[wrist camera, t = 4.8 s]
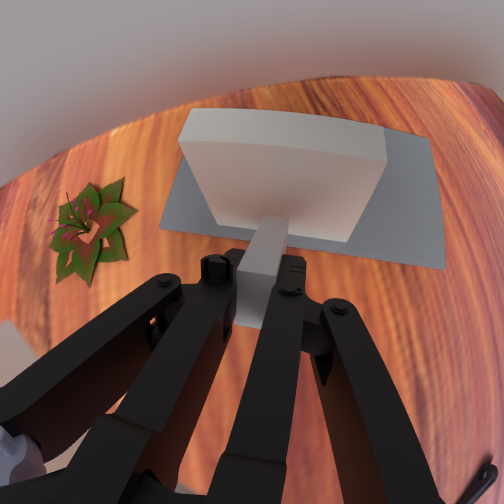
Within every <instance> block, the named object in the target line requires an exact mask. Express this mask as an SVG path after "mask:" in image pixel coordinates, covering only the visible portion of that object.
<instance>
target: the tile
mask: <svg viewBox="0 0 504 504" xmlns="http://www.w3.org/2000/svg"><path fill="white" fill-rule="evenodd" d="M177 141H178V143H179V145H180V147H181V150H182V152H183V154H184V156H185V158H186V160H187V162H188V164H189V166H190V168H191V171H192V173H193V175H194V177H195V179H196V181H197V183H198V185H199V187H200V189H201V191H202V193H203V196H204V198H205V200H206V202H207V204H208V206H209V208H210V210H211V212H212V214H213V216H214V218H215V220H216V222H217V224H218V225H223V226H231V227H239V228H247V229H254V230H257V228H258V226H259V224H260V222H261V220H262V218H263V216H271V217H279V218H287V219H289V227H288V234H291V235H298V236H305V237H312V238H319V239H326V240H332V241H339V242H347V240H348V239H349V237H350V235H351V233H352V231H353V230H354V228H355V226H356V224H357V222H358V220H359V218H360V217H361V215H362V213H363V211H364V209H365V207H366V205H367V203H368V201H369V199H370V197H371V195H372V193H373V191H374V189H375V187H376V185H377V183H378V181H379V179H380V177H381V175H382V173H383V171H384V169H385V167H386V165H387V153H386V144H385V136H384V128H383V127H382V126H378V125H373V124H368V123H363V122H358V121H352V120H347V119H341V118H334V117H327V116H320V115H313V114H304V113H295V112H285V111H273V110H257V109H232V108H193V109H192V110H191V112H190V114H189V116H188V118H187V120H186V122H185V125H184V127H183V129H182V131H181V134H180V136H179V138H178V140H177Z"/></svg>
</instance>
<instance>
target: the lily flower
mask: <svg viewBox="0 0 504 504" xmlns="http://www.w3.org/2000/svg"><path fill="white" fill-rule="evenodd" d="M123 180H124V178H122V179H121V180H118V181H116V182H114V184H110V185H108V186H106V187H104V188H103V189H102V190H101V191H100V192H99V193H98V194H97V192H96V190H95V189H94V188H93V187H92V186H90V183H88V185H87V186H86V187H85V188H84V189H83V192H81V193H80V194H79V195H78V196H77V197H76V199H75V198H74V199H73V202H69V203H67V204H65V205H64V206H63V207H62V206H59V207H58V208H59V214H60V215H59V220H48V221H59V224H60V225H59V227H58V228H57V229H56V230H55V231H53V232H52V233H51V234H52V235H53V233H55V234H54V236H53V238H52V243H50V245H49V246H48V247H50V248H51V249H53V250H54V251H56V252H59V253H60V254H59V256H58V260H57V268H56V274H57V277H58V278H57V279H56V284H57V283H58V282H59V281H61V280H62V279H63V278H65V277H67V276H68V275H70V274H71V273H73V272H74V271H76V273H77V274H78V275H79V276H80V277H81V278H82V279H83V280H85V281H86V282H87V285H88V286H89V288H90V284H91V279H92V272H93V270H94V266H95V262H96V261H99V262H115V261H119V260H121V259H122V260H124V261H128V259H127V257H126V253H125V249H123V246H124V245H123V241H122V238H121V235H120V233H119V231H118V229H117V228H118V227H119V226H120V225H121V224H123V223H124V222H125V221H126V220H127V219H129V218H130V216H131V215H132V214H135V213H136V212H138V210H134V209H132V208H129V207H125V205H123V204H120V203H118V202H119V198H120V193H121V189H122V182H123ZM66 193H67V192H66ZM67 198H68V193H67ZM68 201H69V199H68ZM107 202H108V203H107ZM106 203H107V204H106ZM104 204H105V205H104ZM102 205H104V206H103V207H102V208H101V209H100V210H99V207H101V206H102ZM69 215H72V216H73V217H74V219H75V220H71V218H70V216H69ZM89 218H90V219H92V220H93V221H95V222H96V223H97V224H98V225H99V226H100V227H99V228H98V230H97V232H96V234H95V235H94V237H93V239H92V240H91V241H90V243H89V244H87V243H85V242H84V241H82V240H81V239H80V238H79V237H78V236H77V235H79V234H84V233H88V230H91V229H90V227H89ZM85 222H87V226H88V227H87V226H86V225H85V224H84V223H85ZM80 230H83V231H85V232H80V233H79V231H80ZM104 237H107V240H108V243H109V246H110V247H103V248H100V240H99V239H102V238H104ZM73 249H74V251H73V254H72V262H71V263H70V264H69V265H68V266H67V267H66V265H67V262H68V260H69V253H70V251H71V250H73ZM65 267H66V268H65Z"/></svg>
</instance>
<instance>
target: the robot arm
mask: <svg viewBox="0 0 504 504" xmlns="http://www.w3.org/2000/svg"><path fill="white" fill-rule="evenodd" d="M288 227H289V219H287V218H279V217H271V216H263V218H262V220H261V222H260V224H259V226H258V228H257V230H256V232H255V234H254V236H253V238H252V240H251V242H250V244H249V246H248V248H247V250H243V249H235V248H232V249H230V250H228V251H227V252H225V254H224V255H219V254H214V255H208V256H205V257H203V258H202V259H201V279H200V280H199V282H198V283H196V284H181V279H180V278H179V276H177V275H175V274H170V273H163V274H159V275H156V276H154V277H152V278H151V279H149V280H148V281H146V282H145V283H144V284H142V285H141V286H139V287H138V288H136V289H135V290H133V291H132V292H131V293H129V294H128V295H126V296H125V297H123V298H122V299H120V300H119V301H118V302H116V303H115V304H113V305H112V306H111V307H109V308H108V309H106V310H105V311H103V312H102V313H101V314H99V315H98V316H96V317H95V318H94V319H92V320H91V321H90V322H88V323H87V324H85V325H84V326H83V327H81V328H80V329H79V330H77V331H76V332H74V333H73V334H72V335H70V336H69V337H68V338H66V339H65V340H64V341H62V342H61V343H60V344H58V345H57V346H56V347H54V348H53V349H52V350H50V351H49V352H48V353H46V354H45V355H44V356H42V357H41V358H40V359H38V360H37V361H36V362H34V363H33V364H32V365H31V366H29V367H28V368H27V369H25V370H24V371H23V372H22V373H20V374H19V375H18V376H16V377H15V378H14V379H13V380H12V381H10V382H9V383H8V384H6V385H5V386H3V387H1V388H0V504H281V499H282V494H283V488H284V483H285V477H286V469H287V465H286V457H287V450H288V444H289V438H290V431H291V425H292V418H293V410H294V403H295V395H296V387H297V379H298V371H299V362H300V352H301V351H304V352H306V353H309V354H310V360H311V364H312V368H313V372H314V376H315V380H316V384H317V388H318V392H319V396H320V400H321V404H322V408H323V412H324V416H325V420H326V425H327V429H328V433H329V437H330V442H331V446H332V450H333V455H334V459H335V464H336V468H337V473H338V477H339V482H340V486H341V491H342V496H343V501H344V504H446V503H445V502H444V501H443V500H442V499H441V498H440V497H439V494H438V491H437V488H436V485H435V482H434V479H433V477H432V474H431V471H430V468H429V466H428V463H427V460H426V458H425V455H424V453H423V450H422V448H421V445H420V443H419V440H418V438H417V435H416V433H415V430H414V428H413V426H412V423H411V421H410V419H409V416H408V414H407V412H406V409H405V407H404V405H403V403H402V400H401V398H400V396H399V394H398V391H397V389H396V387H395V385H394V383H393V381H392V379H391V376H390V374H389V372H388V370H387V368H386V366H385V364H384V362H383V360H382V358H381V356H380V354H379V352H378V350H377V348H376V346H375V344H374V342H373V340H372V338H371V336H370V334H369V332H368V330H367V328H366V326H365V324H364V322H363V320H362V318H361V316H360V314H359V313H358V311H357V309H356V307H355V306H354V305H353V304H352V303H350V302H349V301H347V300H344V299H339V298H332V299H328V300H326V301H325V302H324V303H323V304H320V303H317V302H315V301H313V300H311V299H310V298H309V297H308V296H307V295H306V293H305V278H306V261H305V260H304V258H303V257H300V256H292V255H285V254H286V245H287V236H288ZM154 317H155V322H153V323H152V324H150V320H152V319H153V318H154ZM234 318H235V325H240V326H245V327H251V328H257V329H261V331H260V334H259V338H258V342H257V345H256V349H255V352H254V356H253V359H252V363H251V366H250V370H249V373H248V377H247V380H246V384H245V387H244V391H243V394H242V398H241V401H240V404H239V408H238V411H237V414H236V418H235V421H234V424H233V428H232V431H231V434H230V437H229V440H228V444H227V447H226V449H225V451H224V453H222V455H221V457H220V459H219V461H218V464H217V467H216V470H215V473H214V476H213V479H212V482H211V485H210V488H209V491H208V493H207V495H193V494H180V493H175V492H174V491H175V488H176V485H177V481H178V472H179V467H180V464H181V461H182V459H183V456H184V454H185V451H186V449H187V446H188V444H189V441H190V439H191V436H192V434H193V431H194V429H195V426H196V424H197V421H198V419H199V416H200V414H201V411H202V409H203V406H204V403H205V401H206V398H207V396H208V393H209V391H210V388H211V386H212V383H213V380H214V378H215V375H216V373H217V370H218V368H219V365H220V362H221V360H222V357H223V355H224V352H225V349H226V347H227V344H228V342H229V339H230V336H231V334H232V323H233V320H234ZM127 391H128V392H127ZM126 392H127V393H126ZM125 393H126V395H125V397H124V398H123V400H122V402H121V403H120V405H119V407H118V408H117V410H116V411H115V412H114V413H112V414H105V413H106V412H107V411H108V410H109V409H110V408H111V407H112V406H113V405H114V404H115V403H116V402H117V401H118V400H119V399H120V398H121V397H122V396H123V395H124V394H125ZM90 427H91V428H90ZM89 428H90V430H89V431H88V433H87V434H86V436H85V438H84V439H83V441H82V443H81V444H80V446H79V447H78V449H77V451H76V452H75V454H74V456H73V457H72V459H71V461H70V462H69V464H68V466H67V467H66V468H63V469H60V470H57V471H55V472H51V473H48V474H46V472H47V471H46V467H45V466H44V465H43V464H44V463H46V462H48V461H50V460H52V459H54V458H56V457H57V456H59V455H60V454H62V453H63V452H64V451H65V450H67V449H68V448H69V447H70V446H72V444H74V443H75V442H76V441H77V440H78V439H79V438H80V437H81V436H82V435H83V434H84V433H85V432H86V431H87V430H88V429H89Z"/></svg>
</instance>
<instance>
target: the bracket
mask: <svg viewBox="0 0 504 504" xmlns="http://www.w3.org/2000/svg"><path fill="white" fill-rule="evenodd" d="M485 470H487V471H485ZM484 471H485V472H484ZM483 472H484V473H483ZM482 473H483V474H482ZM486 473H487V474H486ZM481 474H482V477H481ZM485 474H486V476H485ZM484 476H485V478H484ZM497 476H498V469H497V467H496V466H495V465H492V464H487V463H486V464H484V465H483V467H482V468H481V470H480V472H479V473H478V475H477V476H476V478H475V479H474V481H473V482H472V484H471V485H470V487H469V488H468V490H467V491H466V492H465V494H464V495H463V497H462V498H461V499H460V501H459V502H458V503H457V504H474V503H475V502H476V501H477V500H478V499H479V498H480V497H481V496H482V495H483V494H484V493H485V491H486V490H487V489H488V488H489V487H490V486H491V485H492V484H493V483H494V482H495V481H496V479H497ZM480 477H481V479H482V480H481V479H480Z"/></svg>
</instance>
